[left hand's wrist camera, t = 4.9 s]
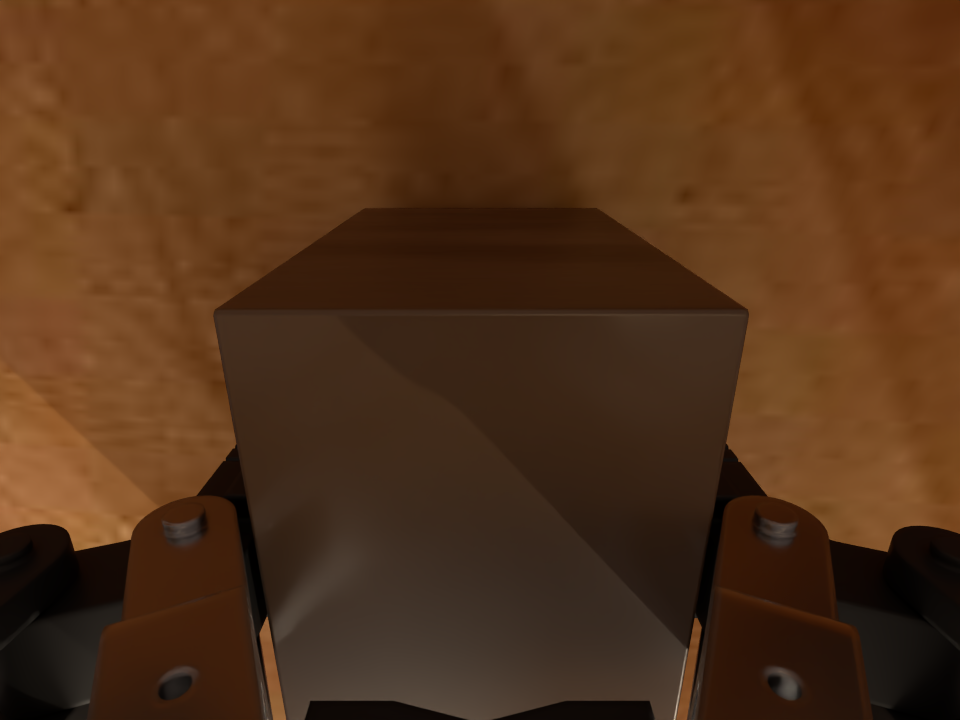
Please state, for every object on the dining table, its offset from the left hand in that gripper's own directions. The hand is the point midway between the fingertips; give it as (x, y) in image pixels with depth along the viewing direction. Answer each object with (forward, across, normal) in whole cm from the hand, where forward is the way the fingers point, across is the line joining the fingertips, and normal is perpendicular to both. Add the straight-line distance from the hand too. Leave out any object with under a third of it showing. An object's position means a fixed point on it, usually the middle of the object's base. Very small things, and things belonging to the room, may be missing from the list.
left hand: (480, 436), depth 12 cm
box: (+5, 0, +7) cm, 8 cm away
